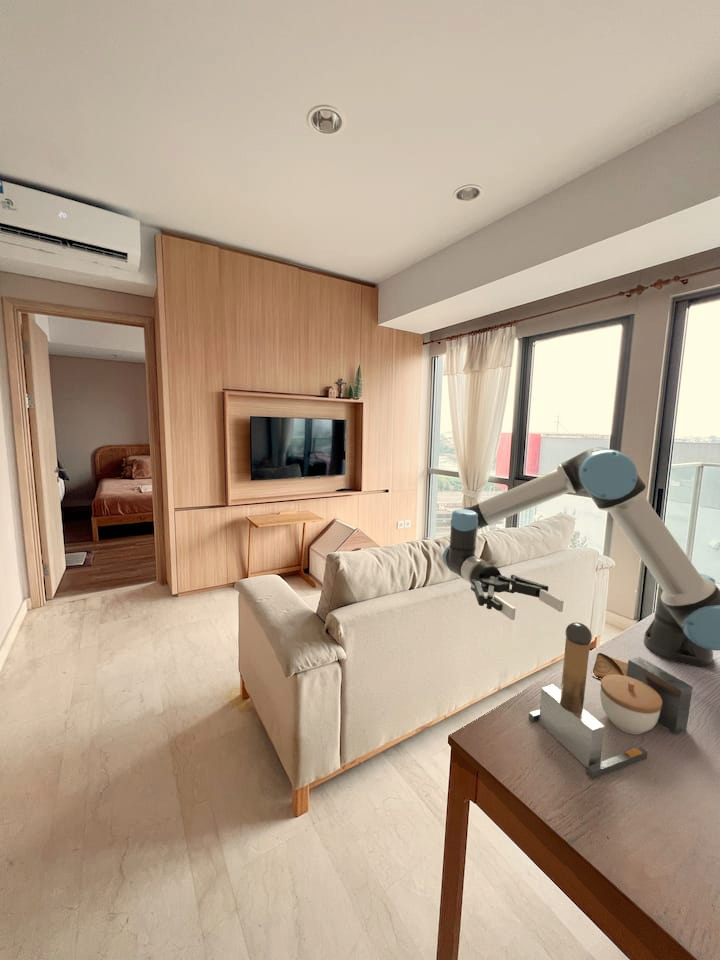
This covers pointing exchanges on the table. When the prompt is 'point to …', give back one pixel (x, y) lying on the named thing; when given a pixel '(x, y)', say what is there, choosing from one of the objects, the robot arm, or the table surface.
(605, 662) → the sunglasses case
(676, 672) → the table surface
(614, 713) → the lidded jar
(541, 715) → the gold upright rod
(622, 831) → the table surface
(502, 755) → the table surface
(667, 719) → the bench
